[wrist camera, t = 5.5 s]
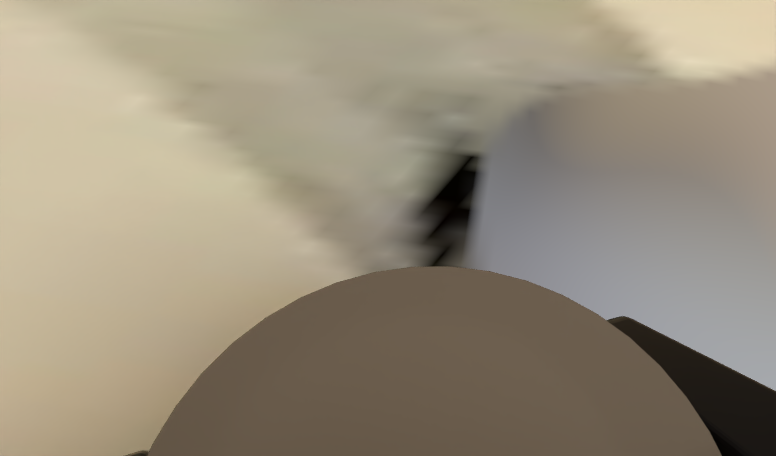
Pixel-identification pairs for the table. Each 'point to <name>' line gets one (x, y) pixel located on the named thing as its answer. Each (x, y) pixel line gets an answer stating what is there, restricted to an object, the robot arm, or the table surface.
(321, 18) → the table surface
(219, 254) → the table surface
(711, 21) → the table surface
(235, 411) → the terracotta jar
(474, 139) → the table surface
